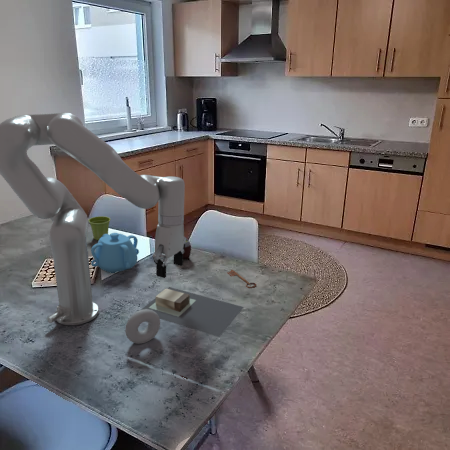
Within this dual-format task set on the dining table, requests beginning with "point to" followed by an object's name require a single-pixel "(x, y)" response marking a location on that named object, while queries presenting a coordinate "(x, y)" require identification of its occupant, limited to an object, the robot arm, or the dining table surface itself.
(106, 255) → the decorative pot
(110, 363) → the dining table surface
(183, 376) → the matchbox
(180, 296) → the wooden block
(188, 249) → the mate gourd
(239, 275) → the key
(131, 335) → the donut
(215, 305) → the mat
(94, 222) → the plant pot
